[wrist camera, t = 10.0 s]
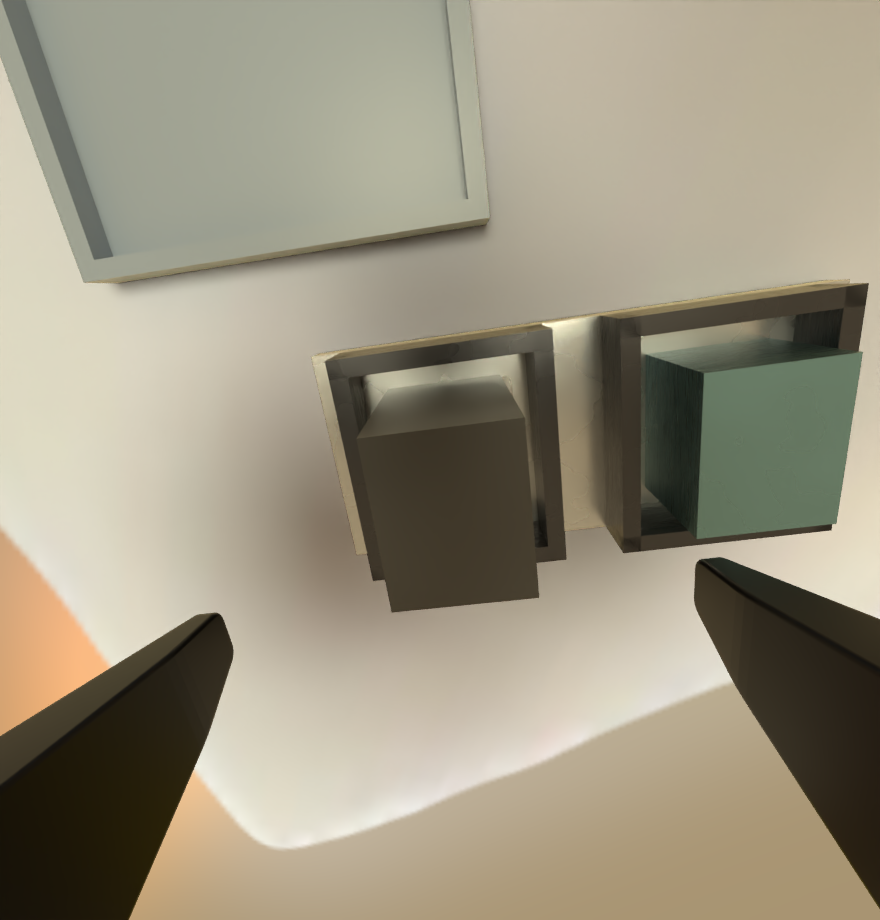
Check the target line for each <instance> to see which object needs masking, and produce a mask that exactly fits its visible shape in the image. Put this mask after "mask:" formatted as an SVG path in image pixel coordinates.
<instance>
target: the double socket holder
mask: <svg viewBox="0 0 880 920" xmlns="http://www.w3.org/2000/svg"><path fill="white" fill-rule="evenodd" d="M849 283H850V279H848V280H824V281H817V282H810V283H803V284H796V285H789V286H782V287H775V288H769V289H762V290H755V291H748V292H741V293H734V294H727V295H720V296H713V297H706V298H699V299H692V300H686V301H679V302H672V303H665V304H658V305H651V306H644V307H637V308H630V309H623V310H616V311H609V312H603V313H596V314H589V315H582V316H575V317H568V318H561V319H554V320H547V321H540V322H533V323H526V324H519V325H513V326H506V327H499V328H492V329H485V330H478V331H471V332H464V333H457V334H450V335H443V336H436V337H430V338H423V339H416V340H409V341H402V342H395V343H388V344H381V345H374V346H367V347H360V348H353V349H347V350H340V351H333V352H326V353H319V354H317V355H315V356H312V357H311V359H312V363H313V367H314V372H315V376H316V381H317V385H318V389H319V394H320V398H321V402H322V407H323V411H324V415H325V420H326V424H327V428H328V433H329V437H330V441H331V446H332V450H333V454H334V459H335V463H336V467H337V472H338V476H339V480H340V485H341V489H342V494H343V498H344V502H345V507H346V511H347V515H348V520H349V524H350V528H351V533H352V537H353V541H354V546H355V550H356V554H357V555H361V554H367V555H368V560H369V564H370V569H371V573H372V578H373V581H375V580H384V579H385V577H384V572H383V567H382V562H381V557H380V552H379V547H378V542H377V537H376V533H375V528H374V523H373V518H372V513H371V508H370V503H369V498H368V493H367V489H366V484H365V479H364V474H363V469H362V464H361V459H360V454H359V449H358V444H357V440H356V438H357V437H358V435H359V434H360V432H361V430H362V429H363V427H364V426H365V424H366V423H367V421H368V419H369V418H370V416H371V415H372V413H373V412H374V410H375V408H376V407H377V405H378V404H379V402H380V401H381V399H382V397H383V396H384V394H385V393H386V391H387V390H388V389H391V388H399V387H407V386H414V385H422V384H429V383H437V382H444V381H452V380H460V379H467V378H475V377H482V376H490V375H498V374H500V375H501V377H502V379H503V381H504V382H505V384H506V386H507V387H508V389H509V391H510V393H511V394H512V396H513V398H514V399H515V401H516V403H517V405H518V406H519V408H520V410H521V411H522V413H523V415H524V417H525V424H526V437H527V450H528V463H529V475H530V488H531V501H532V514H533V527H534V539H535V552H536V563H539V562H548V561H557V560H566V546H565V531H571V530H579V529H588V528H597V527H607V529H608V530H609V532H610V533H611V535H612V536H613V538H614V539H615V541H616V542H617V544H618V545H619V547H620V549H621V550H622V552H623V553H630V552H639V551H648V550H657V549H666V548H675V547H684V546H693V545H702V544H711V543H720V542H729V541H738V540H748V539H757V538H766V537H775V536H784V535H793V534H802V533H811V532H820V531H829V530H831V529H832V524H836V522H837V516H838V509H839V503H840V497H841V490H842V484H843V477H844V471H845V464H846V458H847V451H848V445H849V438H850V432H851V425H852V419H853V412H854V406H855V400H856V393H857V387H858V380H859V374H860V367H861V361H862V354H863V352H859V345H860V338H861V331H862V325H863V318H864V311H865V305H866V298H867V292H868V285H869V283H854V284H849Z"/></svg>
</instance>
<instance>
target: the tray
mask: <svg viewBox="0 0 880 920" xmlns="http://www.w3.org/2000/svg"><path fill="white" fill-rule="evenodd" d="M0 57H1V60H2V63H3V65H4V68H5V71H6V74H7V76H8V79H9V82H10V84H11V87H12V90H13V92H14V95H15V98H16V101H17V103H18V106H19V109H20V111H21V114H22V117H23V120H24V122H25V125H26V128H27V130H28V133H29V136H30V138H31V141H32V144H33V147H34V149H35V152H36V155H37V157H38V160H39V163H40V166H41V168H42V171H43V174H44V176H45V179H46V182H47V184H48V187H49V190H50V193H51V195H52V198H53V201H54V203H55V206H56V209H57V212H58V214H59V217H60V220H61V222H62V225H63V228H64V230H65V233H66V236H67V239H68V241H69V244H70V247H71V249H72V252H73V255H74V257H75V260H76V263H77V266H78V268H79V271H80V274H81V276H82V279H83V282H84V283H122V282H128V281H134V280H141V279H147V278H153V277H159V276H166V275H172V274H178V273H184V272H191V271H197V270H203V269H210V268H216V267H222V266H228V265H235V264H241V263H247V262H253V261H260V260H266V259H272V258H278V257H285V256H291V255H297V254H303V253H310V252H316V251H322V250H329V249H335V248H341V247H347V246H354V245H360V244H366V243H372V242H379V241H385V240H391V239H397V238H404V237H410V236H416V235H422V234H429V233H435V232H441V231H448V230H454V229H460V228H466V227H473V226H479V225H485V224H487V222H488V220H489V218H490V212H489V201H488V191H487V180H486V170H485V160H484V149H483V139H482V128H481V118H480V107H479V97H478V87H477V76H476V66H475V55H474V45H473V34H472V24H471V13H470V3H469V0H0Z"/></svg>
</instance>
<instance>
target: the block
mask: <svg viewBox="0 0 880 920" xmlns="http://www.w3.org/2000/svg"><path fill="white" fill-rule="evenodd" d="M356 440H357V444H358V449H359V454H360V459H361V464H362V469H363V474H364V479H365V484H366V489H367V493H368V498H369V503H370V508H371V513H372V518H373V523H374V528H375V533H376V537H377V542H378V547H379V552H380V557H381V562H382V567H383V572H384V577H385V582H386V586H387V591H388V596H389V601H390V606H391V611H392V612H401V611H411V610H421V609H431V608H441V607H451V606H461V605H471V604H481V603H491V602H501V601H511V600H521V599H531V598H539V591H538V578H537V565H536V552H535V539H534V527H533V514H532V501H531V488H530V475H529V463H528V450H527V437H526V424H525V417H524V415H523V413H522V411H521V410H520V408H519V406H518V405H517V403H516V401H515V399H514V398H513V396H512V394H511V393H510V391H509V389H508V387H507V386H506V384H505V382H504V381H503V379H502V377H501V375H500V374H498V375H490V376H482V377H475V378H467V379H460V380H452V381H444V382H437V383H429V384H422V385H414V386H407V387H399V388H391V389H388V390H387V391H386V393H385V394H384V396H383V397H382V399H381V401H380V402H379V404H378V405H377V407H376V408H375V410H374V412H373V413H372V415H371V416H370V418H369V419H368V421H367V423H366V424H365V426H364V427H363V429H362V430H361V432H360V434H359V435H358V437H357V438H356Z"/></svg>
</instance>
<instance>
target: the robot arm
mask: <svg viewBox="0 0 880 920" xmlns="http://www.w3.org/2000/svg"><path fill="white" fill-rule="evenodd" d="M694 602H695V606H696V609H697V612H698V614H699V616H700V618H701V620H702V622H703V624H704V626H705V628H706V630H707V632H708V634H709V636H710V637H711V639H712V641H713V643H714V645H715V647H716V649H717V651H718V653H719V655H720V657H721V659H722V661H723V663H724V665H725V667H726V669H727V671H728V673H729V675H730V677H731V678H732V680H733V682H734V684H735V686H736V688H737V689H738V691H739V692H740V694H741V695H742V697H743V699H744V701H745V702H746V704H747V705H748V707H749V708H750V710H751V711H752V713H753V715H754V716H755V718H756V719H757V721H758V722H759V724H760V725H761V727H762V728H763V730H764V732H765V733H766V735H767V736H768V738H769V739H770V741H771V742H772V744H773V745H774V747H775V748H776V750H777V752H778V753H779V755H780V756H781V758H782V759H783V760H784V762H785V764H786V765H787V767H788V769H789V770H790V772H791V773H792V775H793V776H794V778H795V779H796V781H797V782H798V784H799V785H800V787H801V789H802V790H803V792H804V793H805V795H806V796H807V798H808V799H809V801H810V802H811V804H812V805H813V807H814V808H815V810H816V812H817V813H818V815H819V816H820V818H821V819H822V821H823V822H824V824H825V826H826V827H827V829H828V830H829V832H830V833H831V834H832V836H833V838H834V839H835V841H836V842H837V844H838V846H839V847H840V849H841V850H842V852H843V853H844V855H845V856H846V858H847V859H848V861H849V862H850V864H851V866H852V867H853V869H854V870H855V872H856V873H857V875H858V876H859V878H860V879H861V881H862V882H863V884H864V886H865V887H866V889H867V890H868V892H869V893H870V895H871V896H872V898H873V899H874V901H875V902H876V904H877V906H878V907H879V909H880V619H878V618H875V617H873V616H870V615H868V614H865V613H863V612H860V611H858V610H855V609H853V608H850V607H847V606H845V605H842V604H840V603H837V602H835V601H832V600H830V599H827V598H824V597H822V596H819V595H817V594H814V593H812V592H809V591H807V590H804V589H801V588H799V587H796V586H794V585H791V584H789V583H786V582H784V581H781V580H779V579H776V578H773V577H771V576H768V575H766V574H763V573H761V572H758V571H756V570H753V569H751V568H748V567H745V566H743V565H740V564H738V563H735V562H733V561H730V560H728V559H725V558H721V557H718V558H709V559H701V560H699V561H698V562H697V564H696V567H695V588H694ZM232 660H233V645H232V642H231V639H230V636H229V634H228V631H227V628H226V625H225V622H224V620H223V618H222V616H221V615H220V614H218V613H207V614H199V615H196V616H194V617H192V618H191V619H189V620H187V621H186V622H184V623H183V624H181V625H179V626H178V627H176V628H175V629H173V630H171V631H170V632H168V633H166V634H165V635H163V636H162V637H160V638H158V639H157V640H155V641H153V642H152V643H150V644H149V645H147V646H145V647H144V648H142V649H141V650H139V651H137V652H136V653H134V654H132V655H131V656H129V657H128V658H126V659H124V660H123V661H121V662H119V663H118V664H116V665H115V666H113V667H111V668H110V669H108V670H107V671H105V672H103V673H102V674H100V675H99V676H97V677H95V678H94V679H92V680H90V681H89V682H87V683H86V684H84V685H82V686H81V687H79V688H78V689H76V690H74V691H73V692H71V693H69V694H68V695H66V696H64V697H63V698H61V699H60V700H58V701H56V702H55V703H53V704H52V705H50V706H48V707H47V708H45V709H43V710H42V711H40V712H39V713H37V714H35V715H34V716H32V717H30V718H29V719H27V720H26V721H24V722H22V723H21V724H20V725H18V726H16V727H14V728H13V729H11V730H9V731H8V732H6V733H5V734H3V735H2V736H0V920H129V918H130V916H131V913H132V911H133V909H134V906H135V904H136V902H137V900H138V897H139V895H140V892H141V890H142V888H143V886H144V883H145V881H146V879H147V876H148V874H149V872H150V869H151V867H152V865H153V862H154V860H155V858H156V855H157V853H158V851H159V848H160V846H161V844H162V841H163V839H164V837H165V835H166V832H167V830H168V828H169V825H170V823H171V821H172V818H173V816H174V814H175V811H176V809H177V807H178V804H179V802H180V800H181V797H182V795H183V793H184V790H185V788H186V786H187V784H188V781H189V779H190V777H191V774H192V772H193V770H194V767H195V765H196V763H197V760H198V758H199V756H200V753H201V751H202V749H203V746H204V744H205V741H206V739H207V736H208V733H209V731H210V728H211V725H212V722H213V719H214V716H215V713H216V710H217V707H218V703H219V700H220V697H221V694H222V691H223V688H224V685H225V682H226V679H227V676H228V672H229V669H230V666H231V663H232Z"/></svg>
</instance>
